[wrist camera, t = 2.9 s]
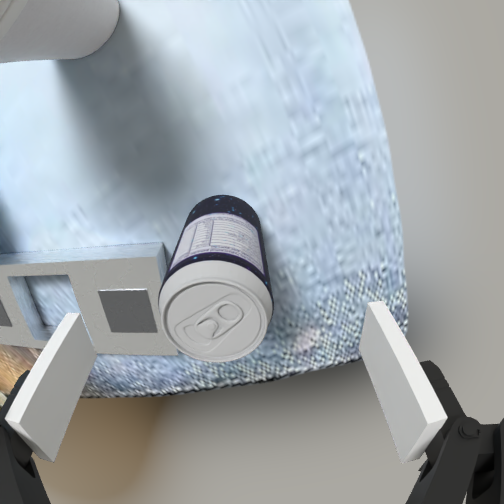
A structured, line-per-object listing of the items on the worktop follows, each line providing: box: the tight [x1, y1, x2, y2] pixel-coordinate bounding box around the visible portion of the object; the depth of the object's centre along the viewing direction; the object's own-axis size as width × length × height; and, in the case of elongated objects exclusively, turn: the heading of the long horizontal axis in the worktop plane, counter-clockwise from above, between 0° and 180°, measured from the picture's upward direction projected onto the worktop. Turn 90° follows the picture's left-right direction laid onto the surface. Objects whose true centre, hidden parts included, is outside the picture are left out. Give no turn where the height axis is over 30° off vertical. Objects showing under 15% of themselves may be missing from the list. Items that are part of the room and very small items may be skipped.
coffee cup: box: [0, 0, 119, 63], centre depth 10 cm, size 10×10×15 cm
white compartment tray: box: [0, 242, 179, 355], centre depth 26 cm, size 24×10×3 cm, turn 92°
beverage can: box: [158, 195, 274, 362], centre depth 20 cm, size 6×6×12 cm
